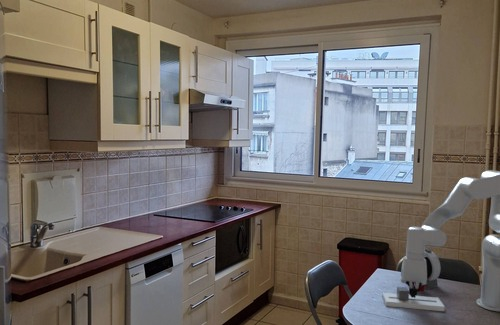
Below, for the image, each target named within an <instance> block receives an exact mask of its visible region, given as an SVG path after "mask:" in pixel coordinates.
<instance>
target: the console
mask: <svg viewBox="0 0 500 325" xmlns="http://www.w3.org/2000/svg"><path fill="white" fill-rule="evenodd" d="M381 296H382V300H383V302H384V305H385V306H386V307H394V308H405V309H415V310H426V311H437V312H445V308H446V307H445V305H444V303H443V302H442V301H441V299H440V298H439V297H433V296H423V295H416V297H415V298H414V297H413V298H412V297H411V296H410V295H409V300H399V299H398V297H397V293H387V292H382V295H381Z"/></svg>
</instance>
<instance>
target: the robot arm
mask: <svg viewBox="0 0 500 325" xmlns="http://www.w3.org/2000/svg"><path fill="white" fill-rule="evenodd" d="M489 198H491V203H490V211H489V216H488V217H489V218H488V226H489V228H490V229H491V230H492V231H495V232H496V233H499V234H500V170H493V169H488V170H485V171H483V172H481V174H480V178H476V177H470V176H465V177H462V178H461V179H459V180H458V182H457V183H456V185H455V186H454V188H453V189H452V190H451V192H450V194H448V196H447V198H445V200H444V202H443V203H442V204H441V205H440V206H439V207H437V208H435V210H434V211H432V212H431V213H430V214H429V215H428V216H427V217H426V218H425V220H424V221H423V223H422V224H421V226H420V227H419V226H410V227H408V228H407V231H406V250H405V256H404V257H403V259H402V264H401V271H400V276H401V279H400V283H403V284H406V285H407V286H408V291H409V295H410V296H411V297H412V298H413V297H414V298H415V297H416V296H418V292H417V289H418V287H420V286H421V285H426V284H427V282H426V281H427V265H426V259H425V257H428V254H426V253H425V247H426V246H431V247H442V246H444V245H445V244H446V242H447V239H448V238H447V234H446V233H445V232H444V231H442V230H441V229H440V228H441V226H442V225H444V223H446V222H447V221H449V220H451V219H454V218H458V217H460V216H462V215H463V213H464V212H465V211H466V210H467V208H468V206H470V203H471V202H472V201H473V200H474V199H475V200H484V199H485V200H486V199H489ZM499 234H495V233H494V234H488V235H486V236H485V237H484V238H483V240H482V242H481V251H482V271H481V272H482V273H481V288H480V298H477V299H476V302H475V303H476V304H477V306H478V307H481V308H483V309H486V310H488V311H494V312H498V313H499V312H500V235H499ZM412 282H415V283H414V286H412Z"/></svg>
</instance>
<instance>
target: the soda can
mask: <svg viewBox="0 0 500 325" xmlns="http://www.w3.org/2000/svg"><path fill="white" fill-rule="evenodd" d="M414 283H415V282H412V286H414ZM425 287H426V285H421V286H420V287H418V289H417V294H419V293H420V294H421V293H424V292H426V288H425Z"/></svg>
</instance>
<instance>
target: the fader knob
mask: <svg viewBox="0 0 500 325" xmlns="http://www.w3.org/2000/svg"><path fill="white" fill-rule="evenodd" d="M396 294H397V297H398V299H399V300H409V288H407V287H406V286H397V287H396Z"/></svg>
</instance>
